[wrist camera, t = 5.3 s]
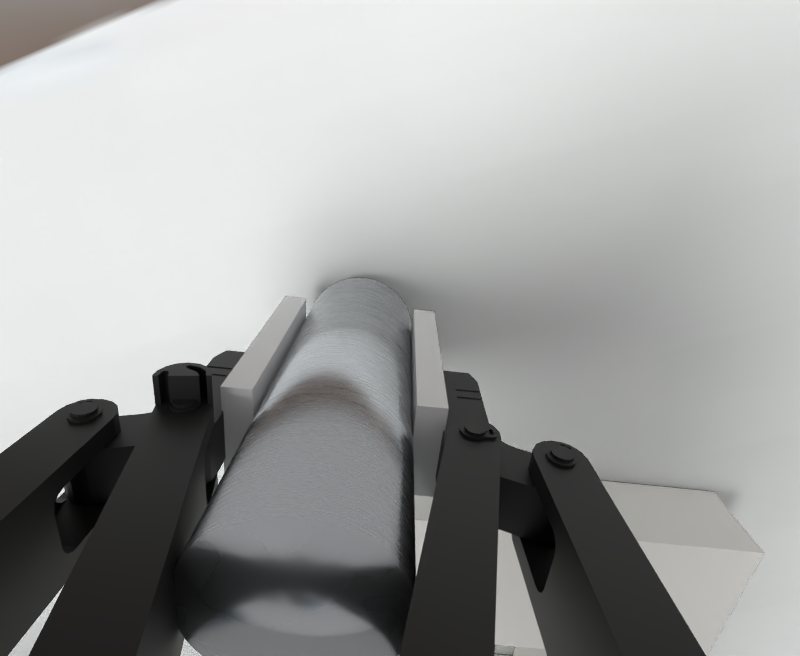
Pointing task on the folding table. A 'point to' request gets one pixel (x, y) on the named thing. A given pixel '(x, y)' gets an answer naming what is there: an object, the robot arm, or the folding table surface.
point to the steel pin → (315, 498)
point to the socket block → (663, 546)
